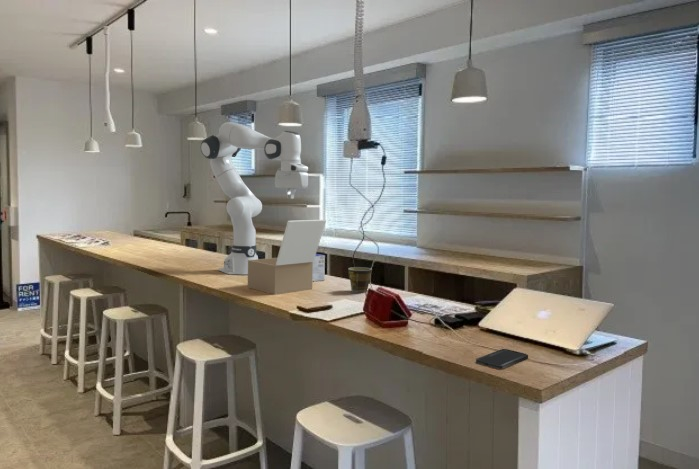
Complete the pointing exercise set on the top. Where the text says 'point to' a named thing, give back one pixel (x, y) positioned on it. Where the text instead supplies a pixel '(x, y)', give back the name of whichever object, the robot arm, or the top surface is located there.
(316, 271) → the ink cartridge box
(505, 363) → the phone
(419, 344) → the top surface
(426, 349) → the top surface
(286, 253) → the lid flap
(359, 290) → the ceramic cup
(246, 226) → the robot arm
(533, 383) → the top surface
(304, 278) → the carton
